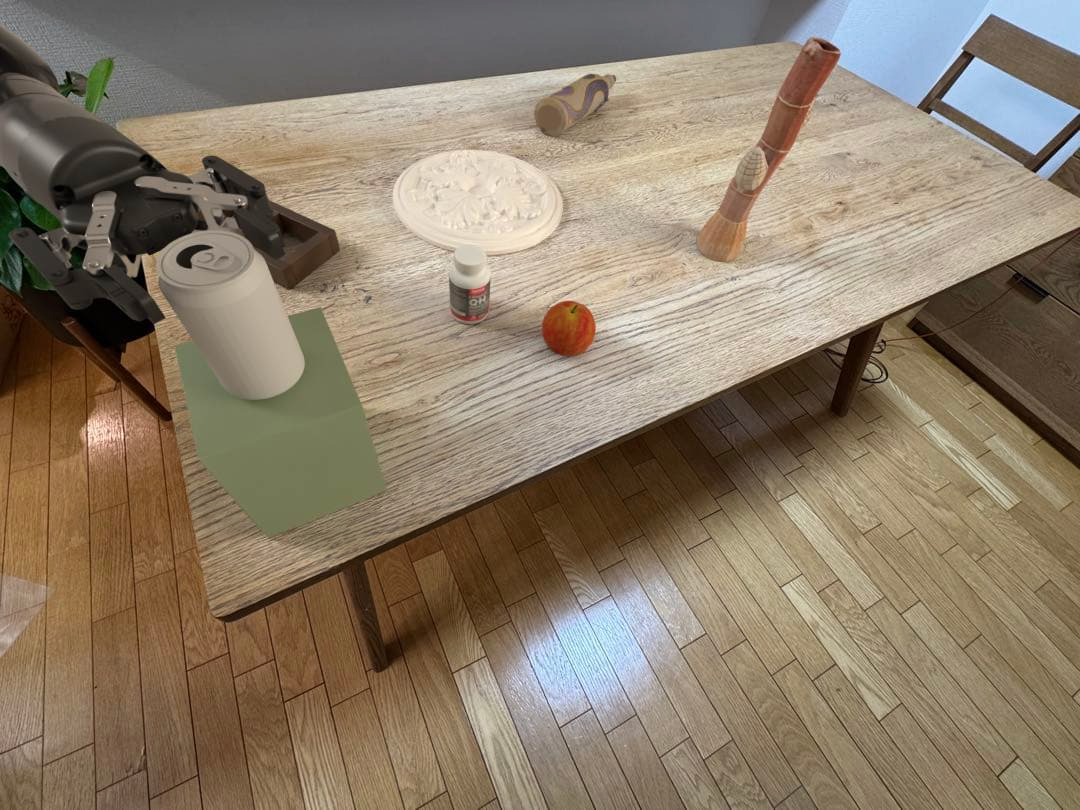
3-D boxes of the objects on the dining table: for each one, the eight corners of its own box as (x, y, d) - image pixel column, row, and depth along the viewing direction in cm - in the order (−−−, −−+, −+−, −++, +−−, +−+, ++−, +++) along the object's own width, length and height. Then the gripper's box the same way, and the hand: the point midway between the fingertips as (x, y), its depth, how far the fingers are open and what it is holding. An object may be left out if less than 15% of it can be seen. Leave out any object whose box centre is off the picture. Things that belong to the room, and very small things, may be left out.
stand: (387, 490, 55) (361, 404, 42) (268, 538, 50) (198, 459, 37) (353, 405, 60) (320, 306, 47) (242, 442, 56) (174, 345, 43)
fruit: (528, 344, 69) (534, 300, 62) (563, 320, 72) (573, 276, 66) (565, 375, 66) (575, 333, 60) (600, 349, 70) (613, 307, 63)
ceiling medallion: (586, 188, 92) (590, 171, 89) (517, 278, 76) (519, 261, 73) (449, 138, 96) (448, 120, 93) (357, 214, 80) (353, 195, 78)
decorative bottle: (562, 143, 99) (567, 107, 94) (531, 129, 101) (534, 93, 96) (626, 100, 113) (634, 66, 107) (597, 88, 115) (604, 54, 109)
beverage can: (252, 336, 44) (191, 215, 35) (322, 356, 44) (279, 239, 34) (205, 392, 41) (122, 274, 31) (281, 414, 40) (220, 302, 31)
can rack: (289, 290, 70) (282, 270, 67) (184, 238, 73) (172, 216, 70) (340, 250, 75) (335, 230, 72) (240, 203, 79) (231, 182, 76)
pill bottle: (475, 331, 69) (475, 275, 61) (442, 314, 70) (438, 257, 62) (496, 308, 72) (499, 251, 64) (464, 292, 73) (463, 234, 65)
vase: (708, 266, 83) (808, 57, 58) (684, 238, 86) (768, 30, 62) (759, 254, 86) (874, 52, 62) (733, 228, 90) (832, 27, 65)
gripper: (-80, 155, 31) (62, 287, 26) (155, 86, 38) (298, 180, 34) (10, 256, 37) (139, 377, 32) (198, 180, 44) (325, 270, 40)
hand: (220, 276), depth 33 cm, fingers open, 8 cm apart
